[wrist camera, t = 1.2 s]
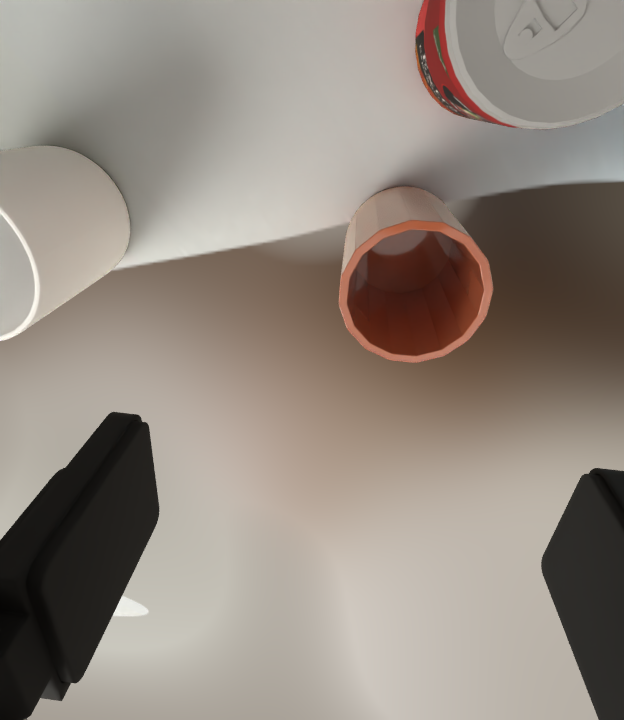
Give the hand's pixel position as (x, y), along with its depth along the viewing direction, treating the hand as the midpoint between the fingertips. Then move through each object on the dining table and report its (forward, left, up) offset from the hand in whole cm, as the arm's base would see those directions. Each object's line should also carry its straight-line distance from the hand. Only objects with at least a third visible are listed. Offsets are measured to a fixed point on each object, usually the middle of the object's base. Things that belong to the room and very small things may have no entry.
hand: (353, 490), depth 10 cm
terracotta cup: (-3, 0, -22) cm, 22 cm away
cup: (+20, 0, -22) cm, 30 cm away
